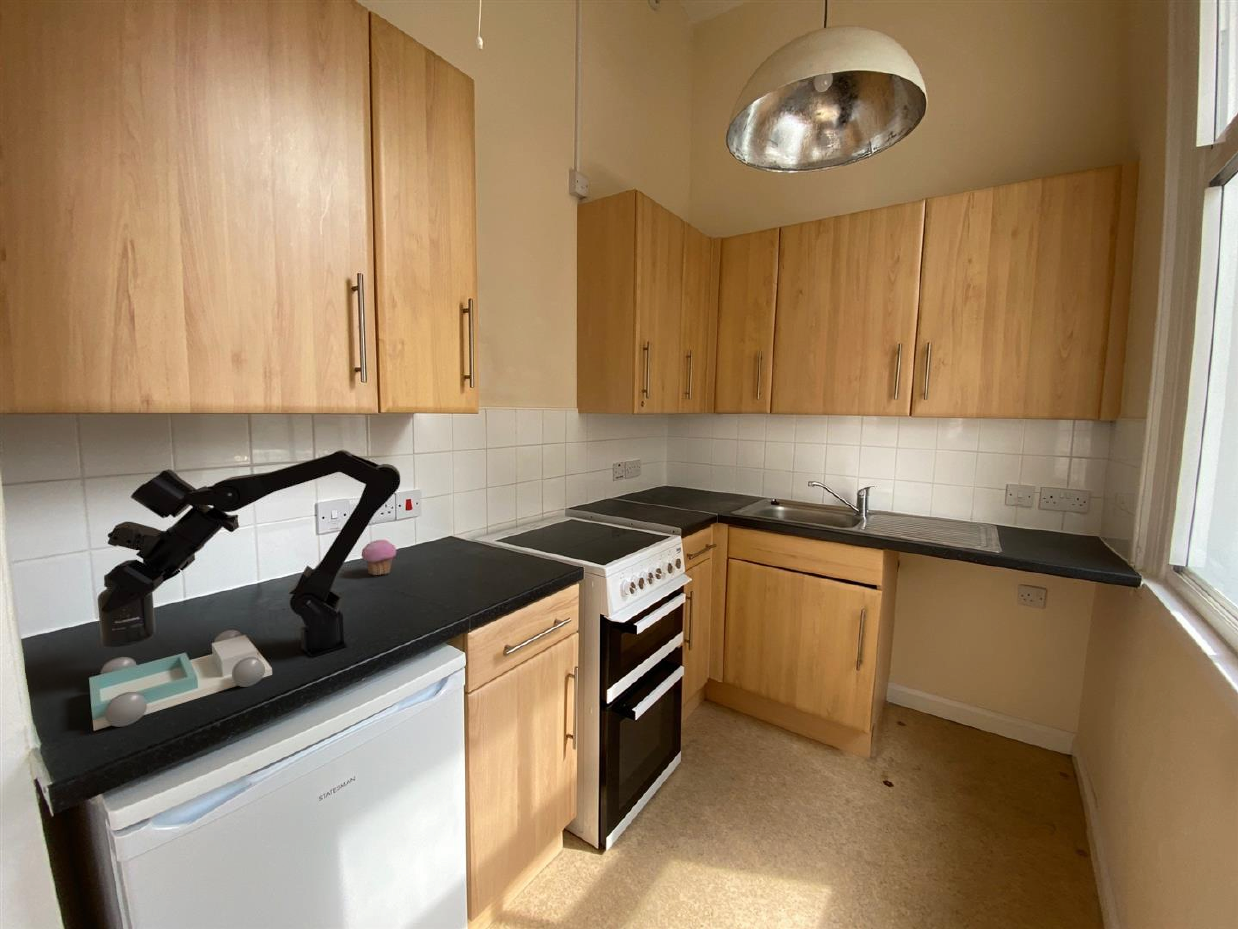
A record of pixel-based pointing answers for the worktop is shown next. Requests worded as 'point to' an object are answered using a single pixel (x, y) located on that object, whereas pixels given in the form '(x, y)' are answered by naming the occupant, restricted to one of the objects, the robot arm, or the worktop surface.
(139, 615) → the supplement bottle
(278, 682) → the worktop surface
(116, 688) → the chassis
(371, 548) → the cupcake
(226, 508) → the robot arm
